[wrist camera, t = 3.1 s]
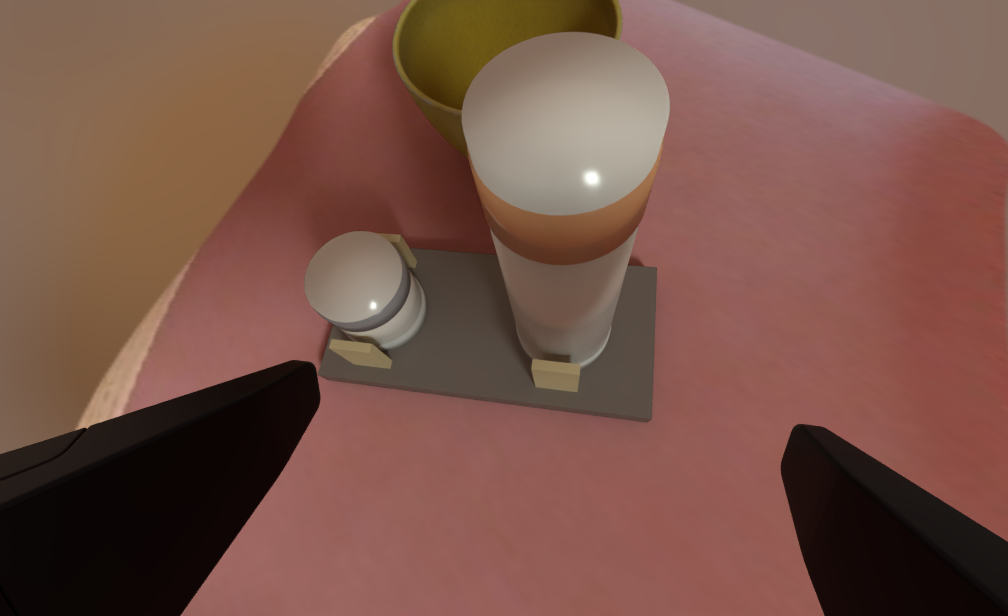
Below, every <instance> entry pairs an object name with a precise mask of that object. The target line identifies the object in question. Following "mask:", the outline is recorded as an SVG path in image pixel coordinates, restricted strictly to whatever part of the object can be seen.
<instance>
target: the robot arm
mask: <svg viewBox="0 0 1008 616" xmlns="http://www.w3.org/2000/svg"><path fill="white" fill-rule="evenodd" d="M319 404H320V390H319V384H318V378H317V371H316V367H315V365H314V364H313V363H311V362H307V361H299V360H291V361H288V362H285V363H282V364H279V365H276V366H273V367H270V368H266V369H263V370H260V371H257V372H254V373H251V374H248V375H245V376H242V377H239V378H236V379H233V380H230V381H227V382H223V383H220V384H217V385H214V386H211V387H208V388H205V389H202V390H199V391H196V392H193V393H190V394H187V395H184V396H180V397H177V398H174V399H171V400H168V401H165V402H162V403H159V404H156V405H153V406H150V407H147V408H144V409H140V410H137V411H134V412H131V413H128V414H125V415H122V416H119V417H116V418H113V419H110V420H107V421H104V422H101V423H97V424H94V425H91V426H90V427H89V428H88V429H87V428H82V429H79V430H76V431H73V432H70V433H67V434H64V435H60V436H58V437H54V438H51V439H48V440H45V441H42V442H39V443H35V444H32V445H29V446H25V447H22V448H19V449H16V450H13V451H9V452H6V453H3V454H0V616H180V615H181V614H182V613H183V611H184V610H185V608H186V607H187V606H188V604H189V603H190V601H191V600H192V598H193V597H194V596H195V594H196V593H197V591H198V590H199V589H200V587H201V586H202V584H203V583H204V581H205V580H206V579H207V577H208V576H209V574H210V573H211V572H212V570H213V569H214V567H215V566H216V565H217V563H218V562H219V560H220V559H221V557H222V556H223V555H224V553H225V552H226V550H227V549H228V548H229V546H230V545H231V543H232V542H233V541H234V539H235V538H236V536H237V535H238V533H239V532H240V531H241V529H242V528H243V526H244V525H245V524H246V522H247V521H248V519H249V518H250V516H251V515H252V514H253V512H254V511H255V509H256V508H257V507H258V505H259V504H260V502H261V501H262V500H263V498H264V497H265V495H266V494H267V492H268V491H269V490H270V488H271V487H272V485H273V484H274V483H275V481H276V480H277V478H278V477H279V475H280V474H281V472H282V471H283V469H284V467H285V466H286V464H287V462H288V461H289V459H290V457H291V455H292V454H293V452H294V450H295V448H296V447H297V445H298V443H299V441H300V440H301V438H302V436H303V434H304V433H305V431H306V429H307V427H308V425H309V424H310V422H311V420H312V418H313V417H314V415H315V413H316V411H317V410H318V407H319ZM781 476H782V480H783V484H784V487H785V491H786V495H787V499H788V503H789V507H790V511H791V514H792V518H793V522H794V526H795V530H796V534H797V538H798V541H799V545H800V549H801V552H802V556H803V559H804V562H805V565H806V568H807V570H808V573H809V576H810V579H811V581H812V584H813V587H814V589H815V592H816V594H817V597H818V600H819V602H820V605H821V607H822V610H823V613H824V615H825V616H1008V542H1007V541H1006V540H1004V539H1002V538H1001V537H999V536H998V535H996V534H994V533H993V532H991V531H990V530H988V529H986V528H985V527H983V526H982V525H980V524H978V523H977V522H975V521H974V520H972V519H970V518H969V517H967V516H966V515H964V514H962V513H961V512H959V511H958V510H956V509H954V508H953V507H951V506H950V505H948V504H946V503H945V502H943V501H942V500H940V499H938V498H937V497H935V496H934V495H932V494H930V493H929V492H927V491H926V490H924V489H922V488H921V487H919V486H918V485H916V484H914V483H913V482H911V481H910V480H908V479H906V478H905V477H903V476H902V475H900V474H898V473H897V472H895V471H893V470H892V469H890V468H889V467H887V466H885V465H884V464H882V463H881V462H879V461H877V460H876V459H874V458H873V457H871V456H869V455H868V454H866V453H865V452H863V451H861V450H860V449H858V448H857V447H855V446H853V445H852V444H850V443H849V442H847V441H845V440H844V439H842V438H841V437H839V436H837V435H836V434H834V433H833V432H831V431H829V430H828V429H826V428H824V427H821V426H814V425H805V424H798V425H796V426H794V428H793V429H792V431H791V434H790V437H789V440H788V443H787V446H786V449H785V452H784V455H783V458H782V461H781Z"/></svg>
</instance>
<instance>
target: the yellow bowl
mask: <svg viewBox="0 0 1008 616" xmlns="http://www.w3.org/2000/svg"><path fill="white" fill-rule="evenodd" d="M622 20H623V17H622V10H621V7H620V3H619V1H618V0H411V1H410V2H409V3H408V5H407V6H406V8H405V9H404V11H403V12H402V14H401V16H400V18H399V20H398V22H397V25H396V28H395V32H394V36H393V43H392V51H393V59H394V63H395V67H396V69H397V72H398V74H399V76H400V77H401V79H402V81H403V83H404V84H405V86H406V88H407V90H408V92H409V93H410V95H411V96H412V98H413V99H414V101H415V102H416V104H417V105H418V107H419V108H420V109H421V111H422V112H423V114H424V115H425V116H426V117H427V119H428V120H429V121H430V122H431V124H432V125H433V126H434V127H435V128H436V129H437V131H438V132H439V133H440V134H441V135H442V136H443V137H444V138H445V139H446V140H447V141H448V142H449V143H450V144H451V145H452V146H454V147H455V148H456V149H457V150H458V151H459V152H461V153H462V154H463V155H465V156H466V157H467V158H468V153H467V143H466V139H465V136H464V132H463V126H462V107H463V101H464V98H465V95H466V93H467V90H468V88H469V86H470V84H471V82H472V81H473V80H474V78H475V77H476V75H477V74H478V73H479V72H480V70H481V69H482V68H483V67H484V66H485V65H486V64H487V63H488V62H489V61H491V60H492V59H493V58H494V57H496V56H497V55H498V54H500V53H501V52H503V51H504V50H506V49H508V48H510V47H512V46H514V45H516V44H518V43H520V42H523V41H525V40H528V39H531V38H534V37H538V36H542V35H547V34H552V33H560V32H586V33H593V34H600V35H603V36H607V37H611V38H614V39H616V40H619V41H620V38H621V33H622V24H623V21H622Z"/></svg>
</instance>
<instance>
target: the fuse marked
mask: <svg viewBox="0 0 1008 616" xmlns="http://www.w3.org/2000/svg"><path fill="white" fill-rule="evenodd" d="M669 111H670V100H669V94H668V89H667V86H666V84H665V81H664V79H663V77H662V75H661V74H660V72H659V70H658V69H657V68H656V66H655V65H654V64H653V63H652V62H651V61H650V60H649V59H648V58H647V57H646V56H645V55H644V54H642V53H641V52H639V51H638V50H637V49H635V48H634V47H632V46H630V45H628V44H626V43H624V42H622V41H619V40H616V39H614V38H611V37H607V36H603V35H600V34H593V33H586V32H560V33H552V34H547V35H542V36H538V37H534V38H531V39H528V40H525V41H523V42H520V43H518V44H516V45H514V46H512V47H510V48H508V49H506V50H504V51H503V52H501V53H500V54H498V55H497V56H496V57H494V58H493V59H492V60H491V61H489V62H488V63H487V64H486V65H485V66H484V67H483V68H482V69H481V70H480V72H479V73H478V74H477V75H476V77H475V78H474V80H473V81H472V82H471V84H470V86H469V88H468V90H467V93H466V95H465V98H464V101H463V107H462V126H463V132H464V136H465V139H466V143H467V153H468V159H469V163H470V166H471V170H472V174H473V177H474V181H475V184H476V188H477V191H478V195H479V199H480V202H481V206H482V209H483V213H484V216H485V219H486V222H487V224H488V225H489V227H490V231H491V235H492V238H493V242H494V246H495V249H496V253H497V256H498V260H499V264H500V267H501V271H502V275H503V278H504V282H505V286H506V289H507V293H508V297H509V300H510V304H511V308H512V311H513V315H514V319H515V322H516V329H517V334H518V338H519V341H520V344H521V346H522V348H523V350H524V352H525V353H526V355H527V356H528V357H529V358H530V359H531V360H533V359H537V360H546V361H554V362H563V363H572V364H580V365H581V367H580V370H582V369H584V368H586V367H588V366H589V365H591V364H592V363H593V362H595V361H596V360H597V359H598V358H599V357H600V355H601V354H602V352H603V351H604V349H605V347H606V345H607V342H608V338H609V335H610V331H611V323H612V320H613V316H614V313H615V309H616V305H617V302H618V298H619V295H620V291H621V287H622V284H623V280H624V277H625V273H626V269H627V266H628V262H629V259H630V255H631V252H632V248H633V244H634V241H635V237H636V234H637V230H638V226H639V224H640V222H641V220H642V218H643V215H644V212H645V209H646V206H647V202H648V199H649V195H650V192H651V188H652V185H653V181H654V178H655V174H656V171H657V167H658V164H659V160H660V157H661V153H662V150H663V143H664V133H665V130H666V126H667V122H668V118H669Z"/></svg>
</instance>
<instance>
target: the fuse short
mask: <svg viewBox="0 0 1008 616" xmlns="http://www.w3.org/2000/svg"><path fill="white" fill-rule="evenodd" d="M304 289H305V294H306V297H307V299H308V301H309V303H310V304H311V306H312V307H313V308H314V310H315V311H316V312H317V313H318V314H319V315H320V316H322V317H323V318H324V319H326V320H327V321H328V322H330V323H331V324H332V325H334V326H335V327H337V328H339V329H341V330H342V331H343V332H345V334H346V335H347V336H348V337H349V338H351V339H352V340H353V341H354V342H361V343H370V344H373V345H374V346H375V347H376V348H378V349H379V350H380V351H390V350H393V349H397V348H399V347H401V346H403V345H405V344H406V343H408V342H409V341H410V340H412V339H413V338H414V337H415V336H416V335H417V333H418V332H419V331H420V329H421V328H422V326H423V324H424V322H425V319H426V316H427V311H428V303H427V297H426V294H425V292H424V290H423V288H422V287H421V285H420V284H419V282H418V280H417V279H416V278H415V277H414V276H413V275H412V273H411V272H410V270H409V269H408V266H407V264H406V262H405V261H404V259H403V258H402V256H401V255H400V253H399V252H398V250H397V249H396V248H395V246H394V245H393V244H392V243H390V242H389V241H388V240H387V239H386V238H384V237H383V236H381V235H379V234H376V233H373V232H368V231H353V232H348V233H345V234H342V235H339V236H337V237H335V238H333V239H332V240H330V241H328V242H327V243H326V244H324V245H323V246H322V247H321V248H320V249H319V250H318V251H317V252H316V253H315V255H314V256H313V258H312V259H311V261H310V263H309V265H308V267H307V270H306V273H305V278H304Z"/></svg>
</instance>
